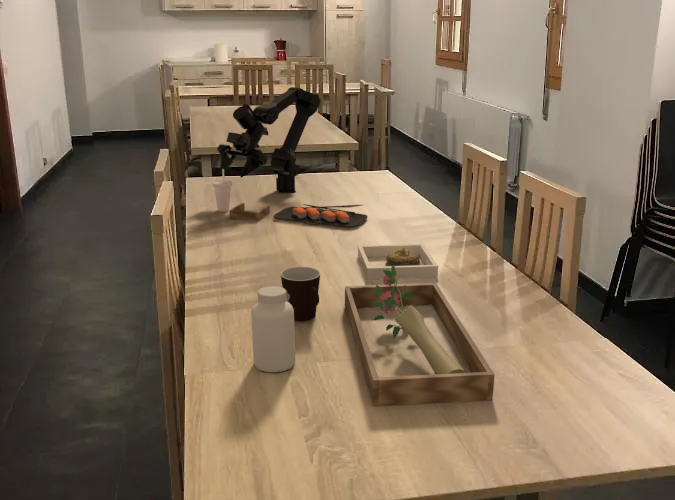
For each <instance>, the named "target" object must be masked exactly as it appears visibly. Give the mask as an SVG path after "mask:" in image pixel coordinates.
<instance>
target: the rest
mask: <svg viewBox="0 0 675 500" xmlns="http://www.w3.org/2000/svg"><path fill="white" fill-rule="evenodd" d="M270 207H271V206H270V204H266V205H264V206H262V207H261V208H260V209H258V210H250V209H246V207H245V202H241V203H239V204H237V205H236V206H234V207H232V208H231V209H229V211H228V212H229V220H236V221H237V220H238V221H239V220H240V221H250V222H251V221H252V222H260V221H261V220H263V219H264V218H265V217H267V216H268V215H269V214H270V213H271V208H270Z"/></svg>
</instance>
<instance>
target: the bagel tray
mask: <svg viewBox="0 0 675 500" xmlns="http://www.w3.org/2000/svg"><path fill="white" fill-rule="evenodd" d="M402 248H403V249H404V248H405V249H406V250H409V255H410V256H412V255H415V256H419V258H421V260H422V261H423V263H424V264H422V265H414V266H395V269H396V274H397V275H396V277H395V278H396V280H398V279H424V278H438V277H439V276H438V275H439V265H438V264H437V262H436V260H435V259H434V257H433V256H432V254H431V253H430V252H429V250H428V249H427V248H426V246H425V245H424V244H423V243H408V244H407V243H405V244H402V243H400V244H377V245H376V244H374V245H371V244H369V245H357V257H358V260H359V263H360V265H361V268H362V270H363V273H364V275H365V278H366V280H367V281H368V280H382V279H384V276H385V273H384V271H383V270H389V271H391V268H392V266H386V265H384V266H371V265H370V262H369V259H368V258H376V257H377V258H380V257H382V258H383V257H387V256H388V254H389V253H390V252H392V251H394V250H398V249H399V250H400V249H402Z"/></svg>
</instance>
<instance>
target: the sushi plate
mask: <svg viewBox="0 0 675 500" xmlns="http://www.w3.org/2000/svg"><path fill="white" fill-rule="evenodd" d="M302 205H303V206H306V207H302V206H288V207H284V209H281V210H280V211H278V212H276V213H274V214H273V218H274V219H277V220H282V221H289V222H297V223H306V224H315V225H323V226H331V227H340V228H356V227H358V226H359V225H361V224H362V223H364V222H365V221H366V220H367V219H368V215H367V214H364V213H358V212H357V213H356V212H355V211H349V210H343V209H342V210H341V209H336V208H352V207H353V208H354V207H360V206H362V204H350V205H347V204H346V205H327V206H318V205H311V204H307V203H303V204H302Z"/></svg>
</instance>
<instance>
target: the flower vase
mask: <svg viewBox="0 0 675 500" xmlns="http://www.w3.org/2000/svg"><path fill="white" fill-rule="evenodd" d="M383 271H384V273H385V276H384V279H381V280H382V281H383V283H384V285H389V286H391V285H395V286H396V287H397V285H398V283H397V282H398V281H397V280H398V279H396V278H395V277H396V275H397V274H396V269H395V266H394V264H393V265H392V268H391V271H389V270H383ZM405 286H406V285H404V287H405ZM404 287H403V288H404ZM403 288H402V289H401V290H403ZM397 289H398V291H399V294H400V300H397V299H398V298H399V295H397V294H396V292H395V288H394V287H393V286H392V289H391V291H386V292H385V293H382V291H381V289H380V287H379V286H378V284H376V293H377V295H378V296H380V297H379V301H375V302H373V304H374V305H375V306H376V307H375V308H380V311H381V312H384V313H386V314H387V312H388V313H389V314H392V313H393V312H396V311H398V312H399V313H400V314H399V315H398V316H397V317H395V318H394V319H390V318H388V317H385V316H384V314H378V315H376V316H374V317H373V318H372V319H371V321H379V320H380V321H381V320H384V319H388V320H390V321H392V322H396V323H397V324H391V323H389V324H387V325H386V327H385V331H389V330H390V329H392V328H393V330H392V337H393V339H395V338H396V337H397V336H398V334H400V330H403V331H405V332H406V334H407V335H408V336H409V338H411V340H412V341H413V342H414V343H415V345H417V347H418V348H419V349H420V351H421V352H422V354H423V355H424V357H425V359H426V361H427V363H428V364H429V366H430V367H431V369H432V371H433V372H434V374H454V373H466V371H465V370H464V369H463V367H461V366H460V365H459V364H458V362H456V360H454V358H453V357H452V356H451V355H450V354H449V352H447V351H446V349H445V348H444V347H443V346H442V345H441V344H440V343H439V341H438V340H437V339H436V337H434V335H433V334H432V332H431V331H430V329H429V328H428V326H427V325H426V323H425V319H424V317H423V315H422V314H421V313H420V312H419V311H418V310H417V309H416V308H415V306H412V305H410V306H407V308H405V310H404V306H403V305H402V299H401V292H400V290H399V288H398V287H397ZM403 292H404V291H403ZM402 294H403V293H402ZM403 297H407V298H414V297H413V295H412V294H411V293H409V292H406V293H405V294H404V296H403ZM400 301H401V306H400ZM396 306H398V307H396Z"/></svg>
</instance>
